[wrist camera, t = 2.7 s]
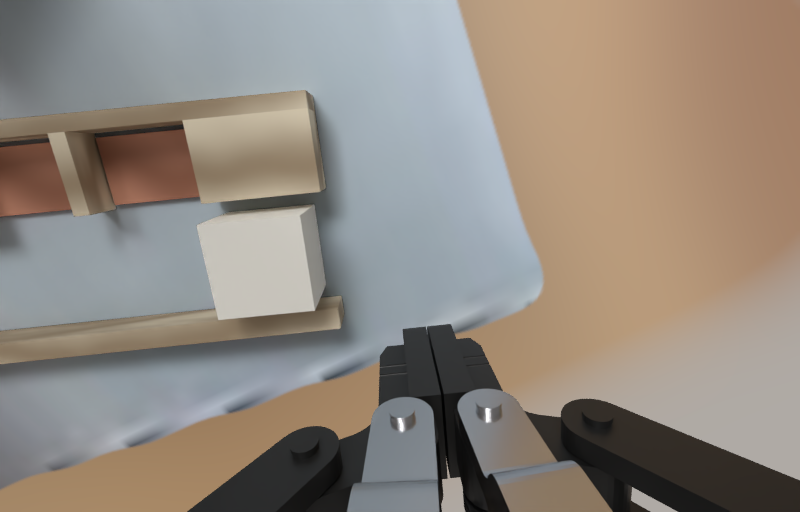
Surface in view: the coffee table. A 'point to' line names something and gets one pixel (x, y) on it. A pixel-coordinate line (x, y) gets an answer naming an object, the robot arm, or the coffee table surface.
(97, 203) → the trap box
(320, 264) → the cream block
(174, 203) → the coffee table surface
